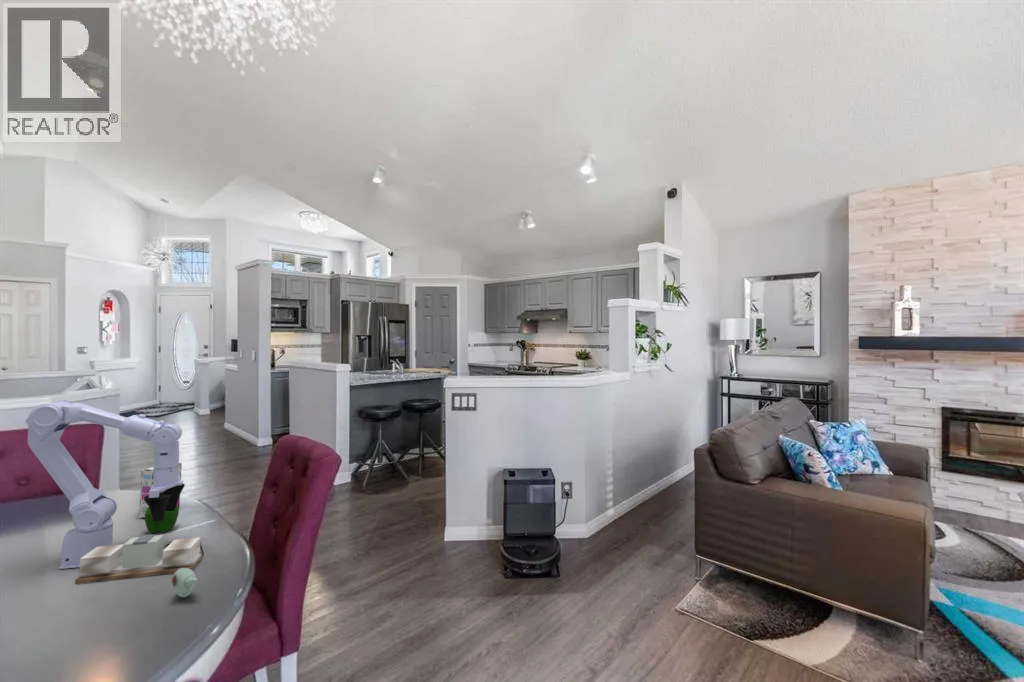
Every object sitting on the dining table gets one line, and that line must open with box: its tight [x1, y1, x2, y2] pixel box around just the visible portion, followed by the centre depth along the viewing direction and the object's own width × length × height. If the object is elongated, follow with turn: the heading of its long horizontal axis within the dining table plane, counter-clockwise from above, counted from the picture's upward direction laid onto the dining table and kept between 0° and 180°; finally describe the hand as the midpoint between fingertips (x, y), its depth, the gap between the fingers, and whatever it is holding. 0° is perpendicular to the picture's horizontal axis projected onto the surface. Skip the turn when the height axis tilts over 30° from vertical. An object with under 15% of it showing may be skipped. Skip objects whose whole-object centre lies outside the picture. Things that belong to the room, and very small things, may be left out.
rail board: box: [74, 537, 204, 585], centre depth 116 cm, size 24×8×6 cm, turn 107°
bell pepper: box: [144, 505, 180, 534], centre depth 141 cm, size 8×8×10 cm
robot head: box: [171, 568, 199, 598], centre depth 103 cm, size 8×4×7 cm, turn 57°
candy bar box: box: [138, 462, 183, 519], centre depth 155 cm, size 11×5×16 cm, turn 172°
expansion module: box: [122, 533, 165, 569], centre depth 116 cm, size 4×7×6 cm, turn 107°
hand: (164, 515), depth 127 cm, fingers open, 7 cm apart
